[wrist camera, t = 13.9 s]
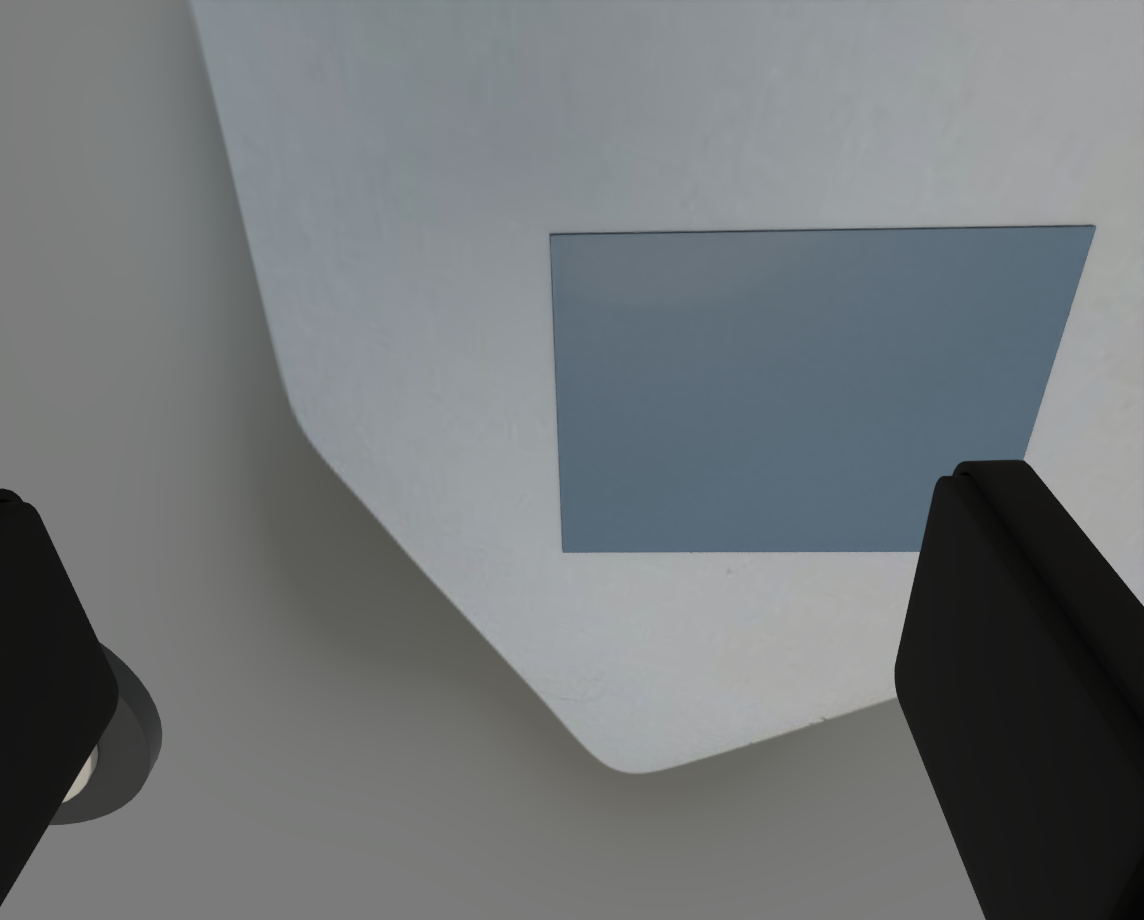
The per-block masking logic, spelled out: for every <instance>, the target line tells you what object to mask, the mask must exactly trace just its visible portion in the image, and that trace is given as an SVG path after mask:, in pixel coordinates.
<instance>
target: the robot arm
mask: <svg viewBox="0 0 1144 920" xmlns="http://www.w3.org/2000/svg"><path fill="white" fill-rule="evenodd" d="M895 687H896V692H897V696H898V699H899V703H900V705H901V708H902V710H903V713H904V715H905V718H906V720H907V723H908V725H909V728H910V730H911V733H912V735H913V738H914V740H915V743H916V745H917V748H918V750H919V753H920V755H921V758H922V760H923V763H924V765H925V768H926V771H927V773H928V776H929V778H930V780H931V783H932V785H933V788H934V791H935V793H936V796H937V798H938V801H939V803H940V805H941V808H942V811H943V813H944V816H945V818H946V821H947V823H948V826H949V828H950V831H951V833H952V836H953V838H954V841H955V843H956V846H957V849H958V851H959V854H960V856H961V859H962V861H963V863H964V866H965V869H966V871H967V874H968V876H969V879H970V881H971V884H972V886H973V889H974V891H975V894H976V896H977V899H978V901H979V904H980V906H981V909H982V911H983V914H984V916H985V919H986V920H1144V606H1143V605H1142V604H1141V603H1140V601H1139V600H1138V599H1137V598H1136V596H1135V595H1134V594H1133V593H1132V591H1131V590H1130V589H1129V588H1128V586H1127V585H1126V584H1125V583H1124V581H1123V580H1122V579H1121V578H1120V577H1119V575H1118V574H1117V573H1116V572H1115V570H1114V569H1113V568H1112V567H1111V565H1110V564H1109V563H1108V562H1107V560H1106V559H1105V558H1104V557H1103V555H1102V554H1101V553H1100V552H1099V551H1098V549H1097V548H1096V547H1095V546H1094V544H1093V543H1092V542H1091V541H1090V539H1089V538H1088V537H1087V536H1086V534H1085V533H1084V532H1083V531H1082V529H1081V528H1080V527H1079V526H1078V524H1077V523H1076V522H1075V521H1074V520H1073V518H1072V517H1071V516H1070V515H1069V513H1068V512H1067V511H1066V510H1065V508H1064V507H1063V506H1062V505H1061V503H1060V502H1059V501H1058V500H1057V498H1056V497H1055V496H1054V495H1053V494H1052V492H1051V491H1050V490H1049V489H1048V487H1047V486H1046V485H1045V484H1044V482H1043V481H1042V480H1041V479H1040V477H1039V476H1038V475H1037V474H1036V472H1035V471H1034V470H1033V469H1032V467H1031V466H1030V465H1028V464H1027V463H1026V462H1025V461H1023V460H1018V459H1016V460H981V461H963V462H961V463H959V464H958V465H957V466H956V468H955V469H954V471H953V474H952V476H942V477H940V478H939V479H938V481H937V482H936V485H935V488H934V492H933V496H932V501H931V505H930V510H929V514H928V519H927V523H926V528H925V532H924V537H923V541H922V546H921V550H920V555H919V559H918V564H917V568H916V573H915V577H914V582H913V586H912V591H911V595H910V600H909V604H908V609H907V613H906V618H905V623H904V627H903V632H902V636H901V641H900V645H899V650H898V654H897V659H896V663H895ZM118 698H119V689H118V683H117V680H116V678H115V675H114V673H113V671H112V669H111V667H110V665H109V663H108V660H107V658H106V656H105V654H104V652H103V650H102V648H101V645H100V643H99V641H98V639H97V637H96V635H95V633H94V630H93V628H92V626H91V624H90V622H89V620H88V618H87V616H86V613H85V611H84V609H83V607H82V605H81V603H80V601H79V598H78V596H77V594H76V592H75V590H74V588H73V586H72V583H71V581H70V579H69V577H68V575H67V573H66V571H65V569H64V566H63V564H62V562H61V560H60V558H59V556H58V554H57V551H56V549H55V547H54V545H53V543H52V541H51V539H50V536H49V534H48V532H47V530H46V528H45V526H44V524H43V521H42V519H41V517H40V515H39V514H38V512H37V510H36V509H35V508H34V507H33V506H32V505H31V504H29V503H26V502H23V501H22V499H21V498H20V497H19V496H18V495H17V494H16V493H14V492H13V491H11V490H6V489H0V906H1V905H2V903H3V901H4V899H5V898H6V896H7V894H8V893H9V891H10V889H11V888H12V886H13V884H14V883H15V881H16V879H17V878H18V876H19V874H20V873H21V871H22V869H23V867H24V866H25V864H26V862H27V861H28V859H29V857H30V856H31V854H32V852H33V850H34V849H35V847H36V846H37V844H38V842H39V841H40V839H41V837H42V835H43V834H44V832H45V830H46V829H47V827H48V825H49V824H50V822H51V820H52V819H53V817H54V815H55V814H56V812H57V810H58V809H59V807H60V805H61V803H63V802H66V801H68V800H69V799H71V798H72V797H74V796H75V795H77V794H78V793H79V792H80V791H81V790H82V789H83V788H84V786H85V785H86V784H87V782H88V780H89V779H90V777H91V775H92V773H93V771H94V769H95V768H96V765H97V759H98V748H97V743H98V741H99V739H100V738H101V736H102V734H103V733H104V731H105V729H106V728H107V726H108V724H109V723H110V721H111V719H112V717H113V715H114V713H115V711H116V708H117V704H118Z"/></svg>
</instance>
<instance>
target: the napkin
mask: <svg viewBox="0 0 1144 920" xmlns="http://www.w3.org/2000/svg"><path fill="white" fill-rule="evenodd" d="M1095 229H1096V226H1054V227H991V228H928V229H865V230H802V231H738V232H675V233H612V234H551V235H550V243H551V268H552V293H553V318H554V344H555V369H556V394H557V420H558V445H559V470H560V496H561V521H562V546H563V553H564V552H920V550H921V546H922V541H923V537H924V532H925V528H926V523H927V519H928V514H929V510H930V505H931V501H932V496H933V492H934V488H935V485H936V482H937V481H938V479H939V478H940V477H942V476H952V474H953V471H954V469H955V468H956V466H957V465H958V464H959V463H961V462H963V461H981V460H1016V459H1018V460H1023V458H1024V455H1025V452H1026V449H1027V446H1028V442H1029V439H1030V436H1031V433H1032V430H1033V427H1034V423H1035V420H1036V417H1037V414H1038V411H1039V407H1040V404H1041V401H1042V398H1043V395H1044V392H1045V388H1046V385H1047V382H1048V379H1049V376H1050V372H1051V369H1052V366H1053V363H1054V360H1055V357H1056V353H1057V350H1058V347H1059V344H1060V341H1061V337H1062V334H1063V331H1064V328H1065V325H1066V322H1067V318H1068V315H1069V312H1070V309H1071V306H1072V302H1073V299H1074V296H1075V293H1076V290H1077V286H1078V283H1079V280H1080V277H1081V274H1082V271H1083V267H1084V264H1085V261H1086V258H1087V255H1088V251H1089V248H1090V245H1091V242H1092V239H1093V236H1094V232H1095Z"/></svg>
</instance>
